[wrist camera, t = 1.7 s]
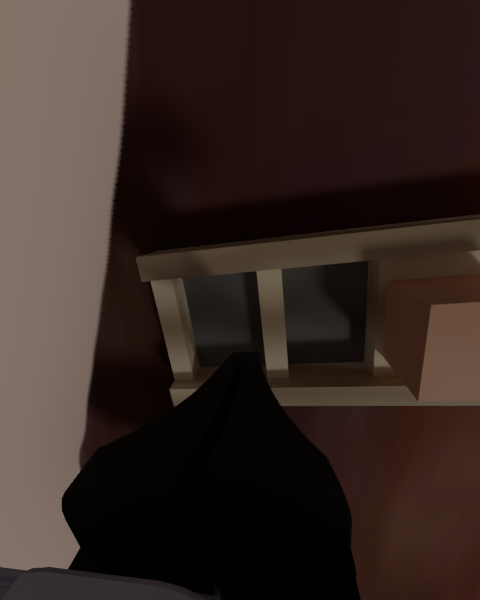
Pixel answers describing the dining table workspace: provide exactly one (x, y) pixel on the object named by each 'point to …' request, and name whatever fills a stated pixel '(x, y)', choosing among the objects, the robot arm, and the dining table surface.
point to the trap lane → (303, 306)
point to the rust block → (435, 336)
